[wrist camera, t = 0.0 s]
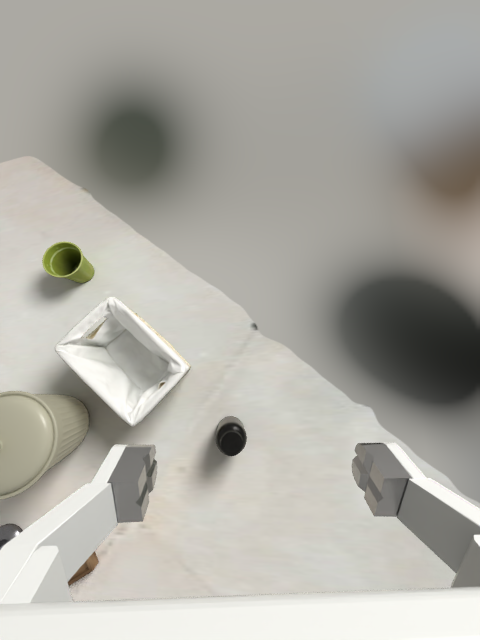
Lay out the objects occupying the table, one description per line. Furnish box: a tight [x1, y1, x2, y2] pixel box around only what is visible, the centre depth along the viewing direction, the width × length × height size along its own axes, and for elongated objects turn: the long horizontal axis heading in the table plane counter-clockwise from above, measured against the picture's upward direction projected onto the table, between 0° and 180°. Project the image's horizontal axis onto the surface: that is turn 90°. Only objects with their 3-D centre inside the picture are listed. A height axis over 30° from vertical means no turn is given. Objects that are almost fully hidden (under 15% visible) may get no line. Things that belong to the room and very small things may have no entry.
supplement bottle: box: [216, 416, 247, 456], centre depth 55 cm, size 7×7×12 cm
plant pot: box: [42, 242, 94, 283], centre depth 63 cm, size 9×9×9 cm
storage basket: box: [55, 297, 191, 426], centre depth 56 cm, size 24×16×15 cm
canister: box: [0, 391, 89, 500], centre depth 49 cm, size 18×18×21 cm
